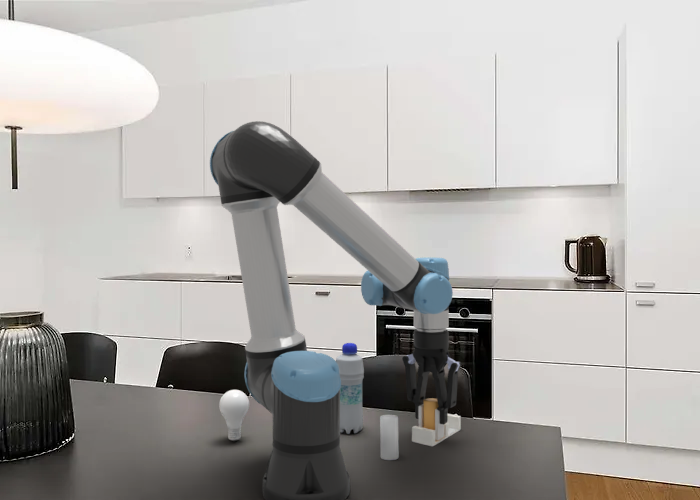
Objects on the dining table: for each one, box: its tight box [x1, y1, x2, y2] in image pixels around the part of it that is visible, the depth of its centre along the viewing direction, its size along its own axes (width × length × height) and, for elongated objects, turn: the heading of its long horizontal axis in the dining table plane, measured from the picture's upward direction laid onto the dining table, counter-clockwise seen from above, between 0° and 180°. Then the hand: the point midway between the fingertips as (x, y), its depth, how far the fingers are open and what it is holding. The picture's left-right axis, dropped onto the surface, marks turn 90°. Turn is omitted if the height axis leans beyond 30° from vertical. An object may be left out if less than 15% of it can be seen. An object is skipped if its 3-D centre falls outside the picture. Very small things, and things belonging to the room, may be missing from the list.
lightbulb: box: [218, 389, 250, 442], centre depth 130 cm, size 6×6×11 cm
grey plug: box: [379, 414, 400, 461], centre depth 121 cm, size 4×4×8 cm
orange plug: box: [423, 397, 438, 430], centre depth 132 cm, size 4×4×8 cm
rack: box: [411, 413, 462, 447], centre depth 134 cm, size 13×5×3 cm, turn 143°
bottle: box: [335, 342, 365, 435], centre depth 137 cm, size 7×7×20 cm
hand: (431, 435), depth 132 cm, fingers closed on orange plug, 3 cm apart
